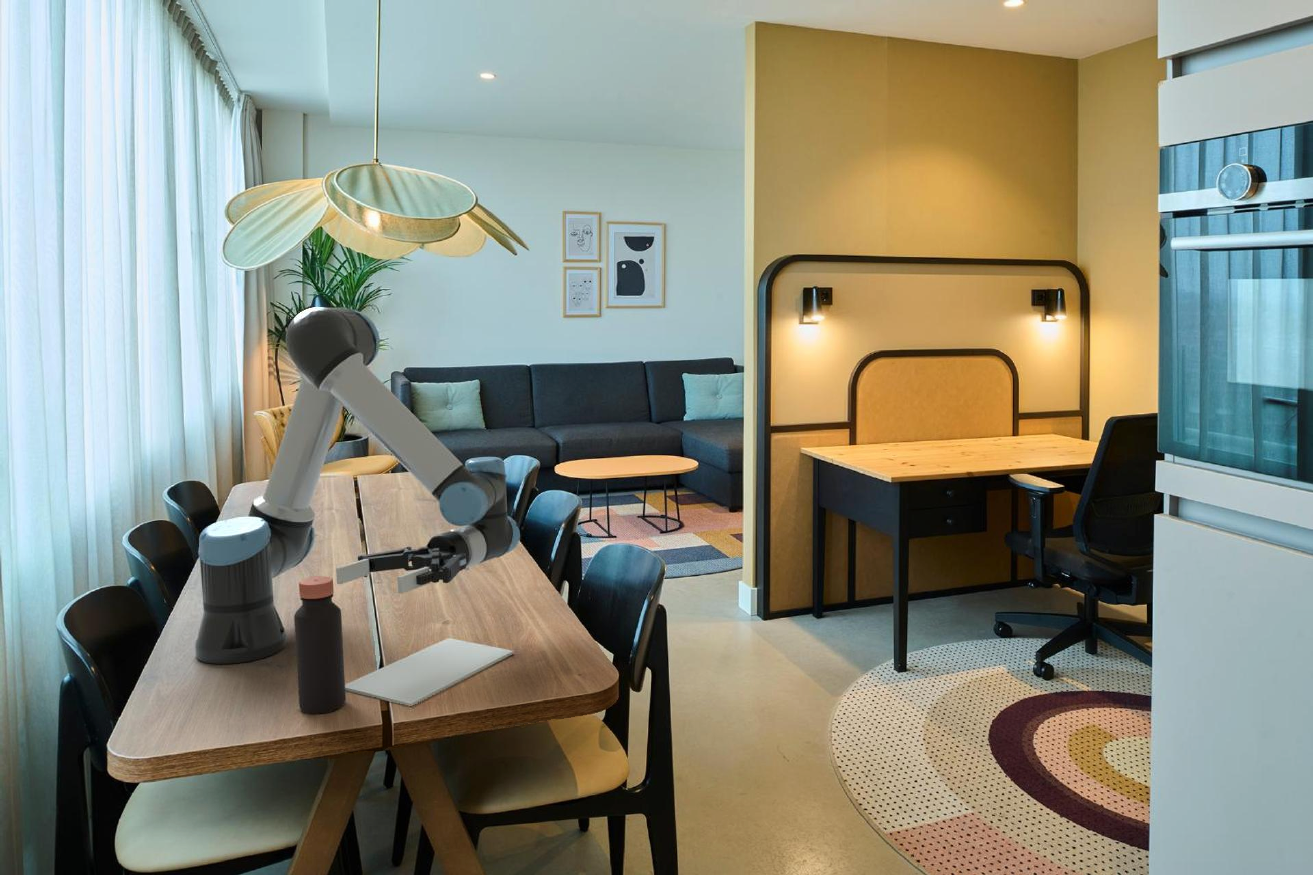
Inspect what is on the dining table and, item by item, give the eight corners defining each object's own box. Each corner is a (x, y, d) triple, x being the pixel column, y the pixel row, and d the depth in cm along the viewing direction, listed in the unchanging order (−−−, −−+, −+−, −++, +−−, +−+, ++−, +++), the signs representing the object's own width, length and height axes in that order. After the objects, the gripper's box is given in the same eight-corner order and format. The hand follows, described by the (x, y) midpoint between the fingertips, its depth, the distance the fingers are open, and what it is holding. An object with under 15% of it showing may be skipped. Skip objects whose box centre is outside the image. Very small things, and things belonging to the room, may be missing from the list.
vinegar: (339, 713, 140) (333, 586, 138) (293, 715, 140) (286, 587, 137) (350, 696, 147) (344, 573, 145) (306, 697, 146) (299, 575, 144)
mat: (341, 689, 150) (341, 686, 150) (448, 640, 172) (448, 637, 172) (411, 706, 143) (410, 703, 143) (513, 653, 165) (513, 650, 165)
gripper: (511, 578, 163) (428, 612, 144) (405, 564, 175) (315, 594, 156) (509, 536, 162) (425, 565, 143) (402, 525, 174) (312, 550, 155)
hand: (368, 580), depth 150 cm, fingers open, 13 cm apart
